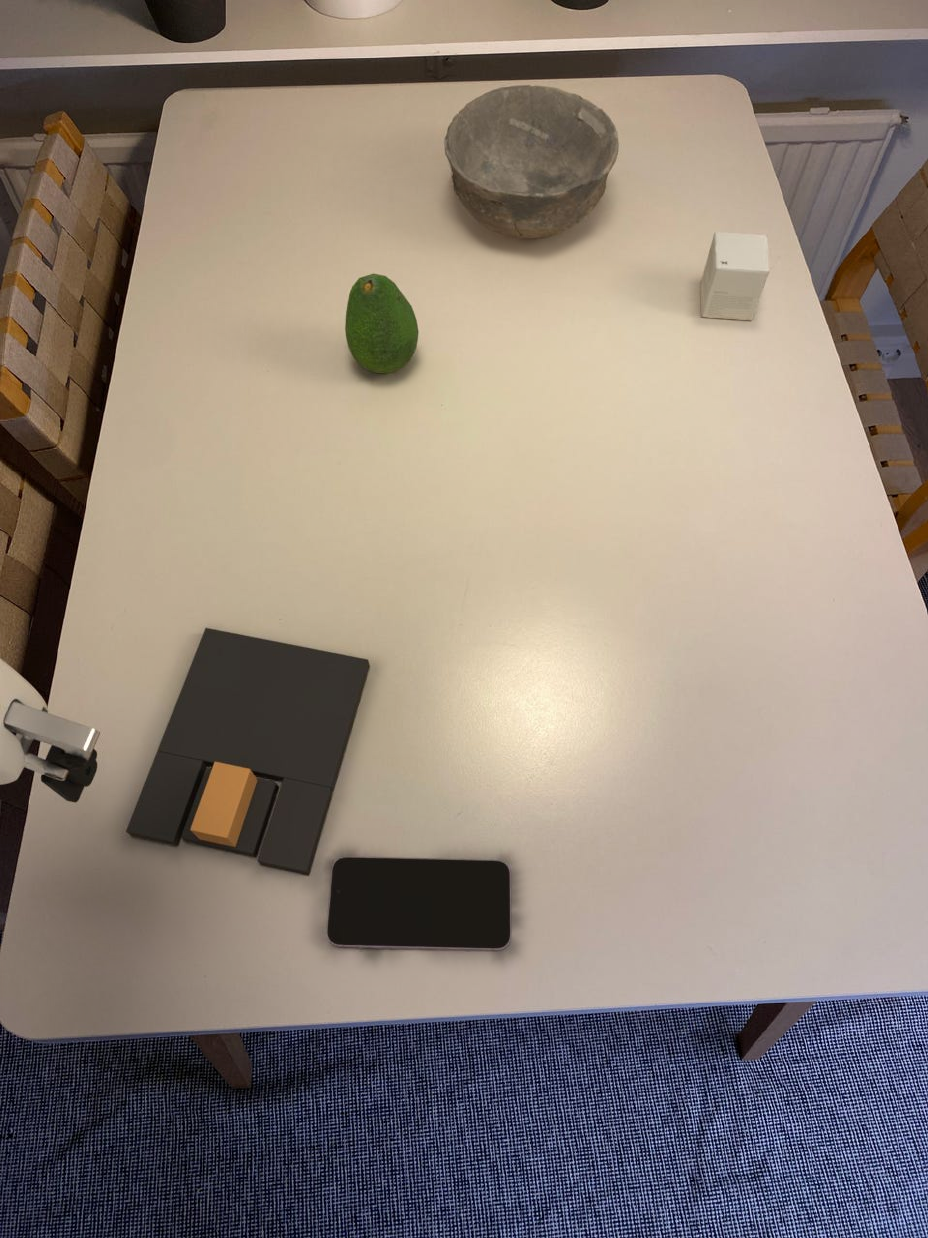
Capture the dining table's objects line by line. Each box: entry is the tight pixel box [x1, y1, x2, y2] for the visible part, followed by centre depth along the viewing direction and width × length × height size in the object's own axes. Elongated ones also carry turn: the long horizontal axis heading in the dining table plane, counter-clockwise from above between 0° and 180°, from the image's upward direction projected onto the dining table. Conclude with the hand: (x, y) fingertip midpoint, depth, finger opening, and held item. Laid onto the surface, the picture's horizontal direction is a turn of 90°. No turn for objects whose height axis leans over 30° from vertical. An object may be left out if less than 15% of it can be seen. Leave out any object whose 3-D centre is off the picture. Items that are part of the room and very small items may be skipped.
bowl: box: [443, 84, 620, 239], centre depth 112 cm, size 21×21×10 cm
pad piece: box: [181, 762, 279, 858], centre depth 78 cm, size 6×6×4 cm
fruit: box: [344, 272, 419, 374], centre depth 99 cm, size 8×8×12 cm
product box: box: [699, 231, 771, 321], centre depth 106 cm, size 6×6×7 cm
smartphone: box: [325, 855, 512, 952], centre depth 76 cm, size 7×1×15 cm
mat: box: [125, 627, 371, 876], centre depth 82 cm, size 20×16×2 cm
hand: (7, 761), depth 55 cm, fingers open, 9 cm apart
